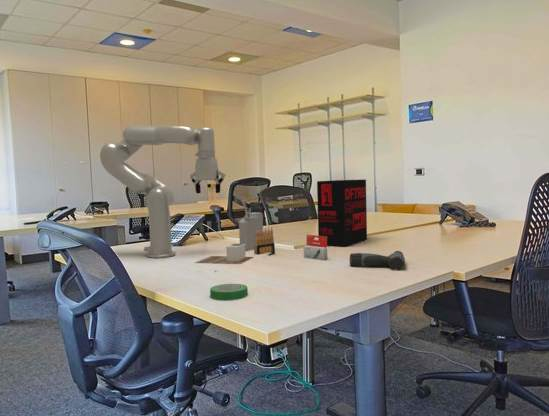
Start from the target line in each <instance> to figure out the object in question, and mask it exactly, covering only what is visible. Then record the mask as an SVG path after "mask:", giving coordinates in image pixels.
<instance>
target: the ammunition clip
mask: <svg viewBox="0 0 549 416" xmlns="http://www.w3.org/2000/svg"><path fill="white" fill-rule="evenodd" d="M275 246H276V245H275V237H274V231H273V228H272V227H271V228H269V227H268V228H265V229H264V228H263V229H262V232H261V231H260V229H259V232H257V230H256V232H255V245H254V249H253V251H254V255H262V254H267V256H271V255H276V247H275ZM268 253H269V254H268Z"/></svg>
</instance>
